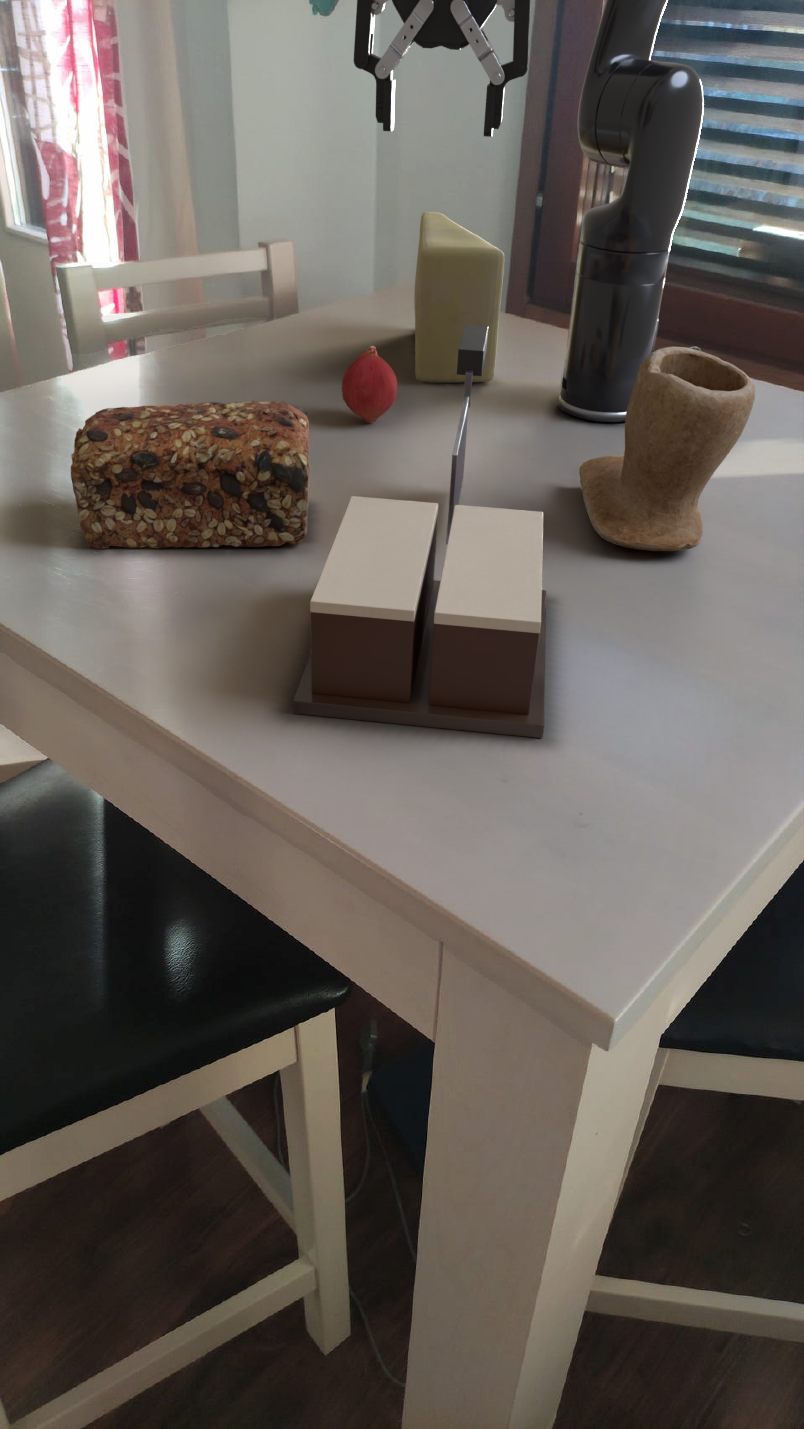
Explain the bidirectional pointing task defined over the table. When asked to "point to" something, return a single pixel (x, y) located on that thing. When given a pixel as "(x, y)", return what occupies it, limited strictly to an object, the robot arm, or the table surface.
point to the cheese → (454, 297)
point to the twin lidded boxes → (430, 620)
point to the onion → (369, 386)
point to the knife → (465, 404)
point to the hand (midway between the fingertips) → (437, 133)
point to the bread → (193, 475)
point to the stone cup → (667, 450)
